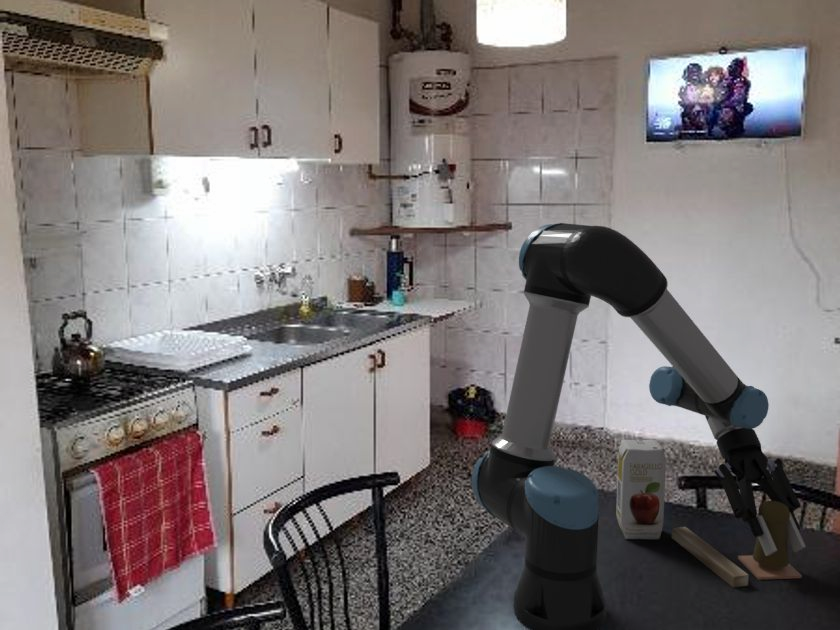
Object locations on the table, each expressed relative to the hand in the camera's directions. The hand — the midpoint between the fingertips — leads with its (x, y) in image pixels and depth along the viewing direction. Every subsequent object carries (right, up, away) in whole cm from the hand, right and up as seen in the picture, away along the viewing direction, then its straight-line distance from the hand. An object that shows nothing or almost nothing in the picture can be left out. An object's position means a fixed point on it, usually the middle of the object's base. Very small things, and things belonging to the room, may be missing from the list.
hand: (785, 551), depth 137 cm
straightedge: (-11, -4, +8) cm, 14 cm away
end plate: (-1, -4, +4) cm, 6 cm away
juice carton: (-21, -2, +19) cm, 28 cm away
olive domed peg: (-1, -3, +4) cm, 5 cm away
